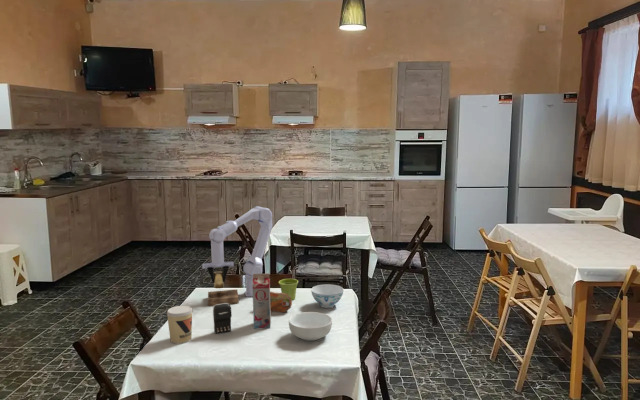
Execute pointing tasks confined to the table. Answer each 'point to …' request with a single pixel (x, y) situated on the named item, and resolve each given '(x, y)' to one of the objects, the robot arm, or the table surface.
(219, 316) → the battery charger
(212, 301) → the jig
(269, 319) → the juice carton
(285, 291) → the plant pot
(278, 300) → the tin
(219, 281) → the bushing
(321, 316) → the cereal bowl
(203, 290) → the table surface
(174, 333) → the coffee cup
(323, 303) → the chinaware
